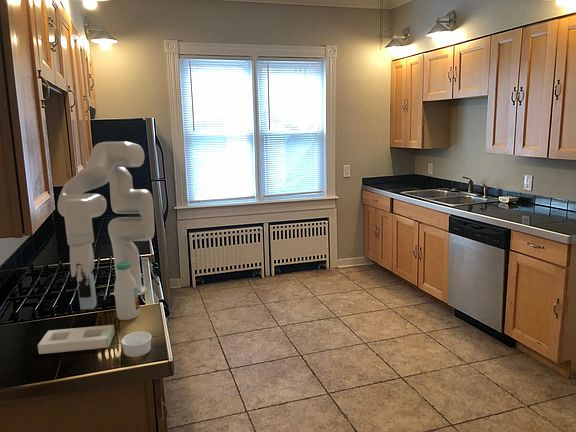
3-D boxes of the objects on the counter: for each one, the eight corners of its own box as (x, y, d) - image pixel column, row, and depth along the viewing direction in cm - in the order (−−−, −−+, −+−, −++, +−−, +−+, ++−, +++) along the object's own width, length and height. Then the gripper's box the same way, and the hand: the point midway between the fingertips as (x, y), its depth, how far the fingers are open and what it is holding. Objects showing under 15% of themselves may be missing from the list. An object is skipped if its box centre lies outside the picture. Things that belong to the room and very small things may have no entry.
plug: (83, 304, 151) (79, 271, 149) (96, 303, 152) (93, 270, 149) (80, 309, 147) (76, 275, 145) (94, 308, 148) (89, 274, 146)
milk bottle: (132, 321, 167) (127, 267, 162) (113, 320, 168) (106, 266, 164) (143, 312, 174) (138, 260, 170) (124, 311, 176) (119, 259, 171)
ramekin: (156, 352, 145) (155, 339, 144) (127, 361, 140) (125, 348, 139) (147, 341, 152) (146, 329, 151) (119, 349, 148) (117, 336, 147)
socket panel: (49, 338, 155) (48, 330, 155) (114, 332, 158) (113, 324, 158) (38, 354, 146) (37, 345, 145) (108, 347, 149) (107, 338, 148)
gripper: (75, 232, 152) (81, 286, 156) (59, 246, 136) (67, 305, 140) (99, 231, 154) (105, 284, 157) (86, 244, 137) (93, 303, 141)
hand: (87, 293), depth 149 cm, fingers closed on plug, 4 cm apart
